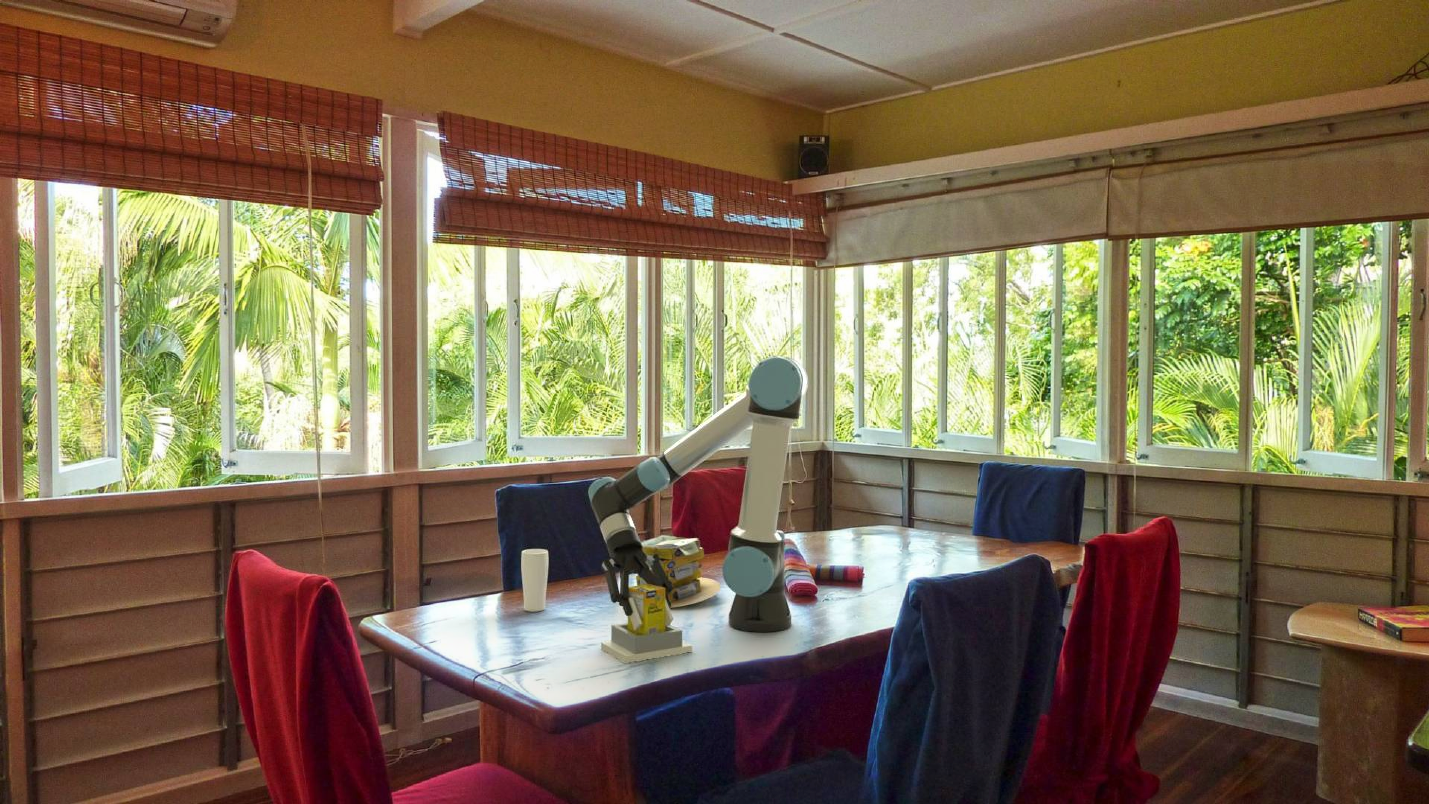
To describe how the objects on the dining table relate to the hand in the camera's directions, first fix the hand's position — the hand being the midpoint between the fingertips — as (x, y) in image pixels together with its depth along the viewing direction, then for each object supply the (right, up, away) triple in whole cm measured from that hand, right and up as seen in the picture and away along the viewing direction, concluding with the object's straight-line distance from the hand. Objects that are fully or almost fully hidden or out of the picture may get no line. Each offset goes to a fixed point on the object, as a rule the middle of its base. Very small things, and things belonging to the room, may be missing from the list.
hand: (654, 624), depth 204 cm
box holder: (-2, -6, +3) cm, 7 cm away
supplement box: (-2, -4, +3) cm, 5 cm away
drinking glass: (-33, -5, +38) cm, 51 cm away
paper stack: (+2, -5, +52) cm, 52 cm away
